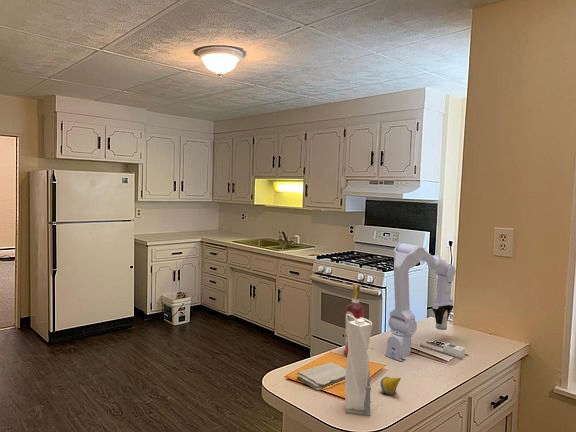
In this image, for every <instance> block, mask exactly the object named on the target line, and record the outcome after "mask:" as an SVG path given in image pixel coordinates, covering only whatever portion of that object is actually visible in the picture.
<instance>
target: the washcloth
mask: <svg viewBox="0 0 576 432" xmlns="http://www.w3.org/2000/svg"><path fill="white" fill-rule="evenodd" d="M345 373H346V368H344V367H342V366H341V365H339V364H336V363H334V362H328V363H324V364H321V365H317V366H314V367H311V368H308V369H303V370H299V371H298V372H297V373H296V374H297V377H296V379H298V380H299V379H300V380H299V382H301V381H302V382H301V383H303V384H304V385H307V386H308V387H310V388H312V389H313V390H315V391H322V389H323V388H325V387H327V386H330V385H333V384H335V383H338V382H340V381H343V380H345Z"/></svg>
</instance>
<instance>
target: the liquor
mask: <svg viewBox="0 0 576 432" xmlns="http://www.w3.org/2000/svg"><path fill="white" fill-rule="evenodd" d="M360 289H361V285H360V284H359V283H352V298H351V303H349V304H347V305H346V306H345V315H346V314H350V315H352V316H354V317H355V318H356V319H360V317H362V318H365V310H366V309H365V307H364V306H363V305H362V304H360ZM347 317H348V322H351V321H355V319H354V318H352V317H351V316H347ZM344 345H345V348H344V350H343V352H344V354H345V355H346V356H347V355H348V350H349V349H348V332H347V318H346V317H345V343H344Z"/></svg>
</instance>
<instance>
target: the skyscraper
mask: <svg viewBox="0 0 576 432" xmlns="http://www.w3.org/2000/svg"><path fill="white" fill-rule="evenodd" d="M347 316H351V317H352V318H354V319H355V321H351V322H348V317H347ZM346 318H347V332H348V349H349V350H348V355H346V362H345V369H346V373H345V382H344V384H345V385H344V387H345V388H344V389H345V391H344V392H345V395H344V397H345V414H351V415H356V416H357V415H358V416H363V417H364V416H366V417H371V402H372V401H371V391H372V386H371V377H370V376H371V375H370V374H371V371H370V359H369V353H368V348H369V343H370V339H371V335H372V330H373V326H374V325H373V322H372V321H371V320H370V319H367V318H365V317H364V318H362V317H360V319H356V318H355V317H354V316H352V315H350V314H346V313H345V319H346Z"/></svg>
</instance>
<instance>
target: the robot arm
mask: <svg viewBox="0 0 576 432" xmlns="http://www.w3.org/2000/svg"><path fill="white" fill-rule="evenodd" d="M421 261H424V262H425V263H426V265H427V267H428V268H429V269H430V270H432V271H434V272H435V273H434V274H435V275H437V279H436V280H437V281H436V293H435V295H436V296H435V300H434V302H433V303H432V306H431V309H432V311H433V314H434V318H435V324H436V323H437V324H442V321H443V316H444V313H445V311H446V309H447V310H448V313H447V321H448V320H449V317H450V314H451V313H452V310H453V309H454V304H453V303H454V302H453V301H454V299H453V298H451V295H452V284H453V283H452V282H454V277H455V275H456V271H457V270H456V268H455V267H456V266H454V265H453V264H452V263H448V262H447V260H446V259H443V258H441V255H438V254H434V255H432V253H429V251H427V250H426V249H425V247H423V246H421V245H415V244H409V243H404V242H398V244H397V245H396V246H395V248H394V249H393V262H394V263H393V281H394V282H393V284H394V286H393V287H394V307H395V308H394V309H392V310H391V311H390V312H389V318H388V327H389V328H390V332H392V333H391V335H390V337H388V338H387V341H386V342H387V343H386V353H384V356H385V357H388V358H391V359H393V360H396V361H399V362H402V363H403V362H404V361H406V360H407V359H405V358H403V357H406V356H409V355H411V348H412V336H414V334H415V333H416V332H417V329H418V325H417V321H416V316H415V314H414V313H413V312H412V310H411V309H410V307H411V306H410V305H411V304H410V283H409V282H410V279H409V271H410V269H414V268H415V266H417V265H418V264H419V263H420V262H421Z"/></svg>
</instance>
